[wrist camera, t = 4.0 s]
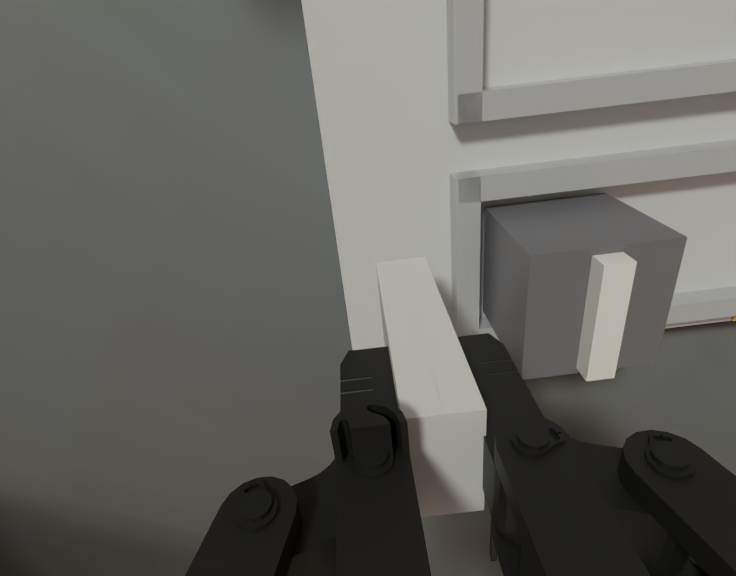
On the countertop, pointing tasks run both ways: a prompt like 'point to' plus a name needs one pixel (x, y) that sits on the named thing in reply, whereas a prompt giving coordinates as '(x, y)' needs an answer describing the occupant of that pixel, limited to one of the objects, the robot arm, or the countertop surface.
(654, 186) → the switch board
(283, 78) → the countertop surface
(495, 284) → the tab
